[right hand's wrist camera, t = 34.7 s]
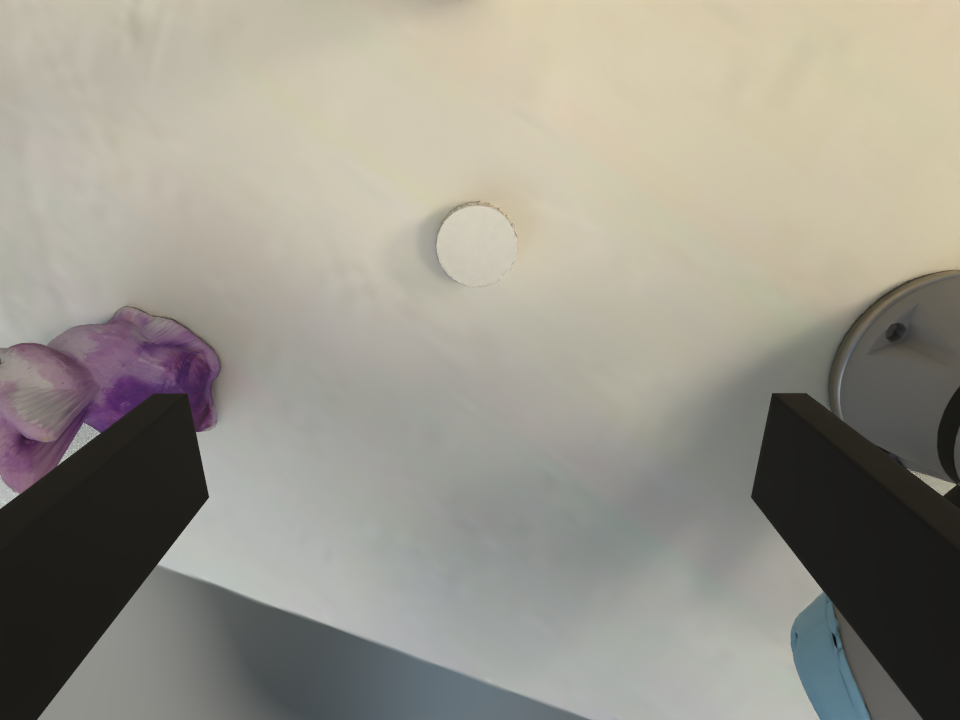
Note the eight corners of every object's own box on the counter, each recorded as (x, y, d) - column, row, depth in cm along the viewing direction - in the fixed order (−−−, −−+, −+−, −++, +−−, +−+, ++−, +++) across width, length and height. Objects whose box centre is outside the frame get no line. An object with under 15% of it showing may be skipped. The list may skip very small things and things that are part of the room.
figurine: (75, 299, 41) (-138, 379, 27) (216, 306, 41) (79, 389, 27) (100, 415, 44) (-78, 540, 30) (230, 421, 44) (115, 548, 30)
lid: (514, 198, 38) (516, 201, 36) (517, 277, 40) (520, 285, 38) (434, 204, 38) (431, 207, 36) (441, 282, 40) (439, 290, 38)
